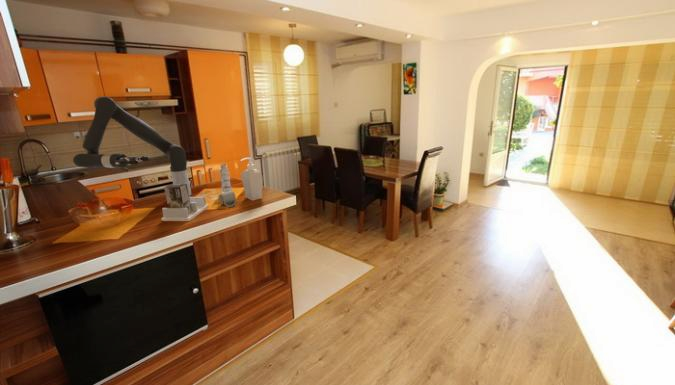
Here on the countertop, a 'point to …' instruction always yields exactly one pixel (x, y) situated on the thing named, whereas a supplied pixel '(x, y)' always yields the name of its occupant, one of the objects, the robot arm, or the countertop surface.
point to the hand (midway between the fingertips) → (143, 160)
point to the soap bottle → (252, 181)
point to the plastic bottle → (225, 178)
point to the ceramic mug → (227, 198)
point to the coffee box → (177, 196)
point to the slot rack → (185, 210)
